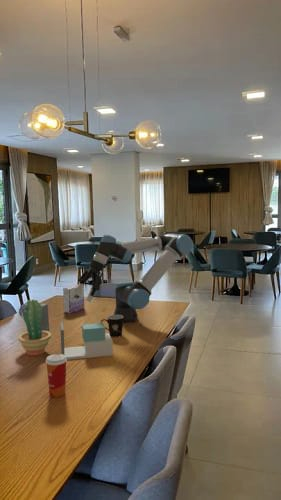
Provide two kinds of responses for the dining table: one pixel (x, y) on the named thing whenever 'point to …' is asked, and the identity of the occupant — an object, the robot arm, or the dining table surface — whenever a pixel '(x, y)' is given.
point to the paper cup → (56, 374)
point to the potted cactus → (33, 329)
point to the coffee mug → (115, 325)
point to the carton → (93, 332)
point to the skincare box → (45, 318)
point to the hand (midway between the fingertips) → (82, 298)
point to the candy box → (73, 299)
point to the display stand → (88, 348)
